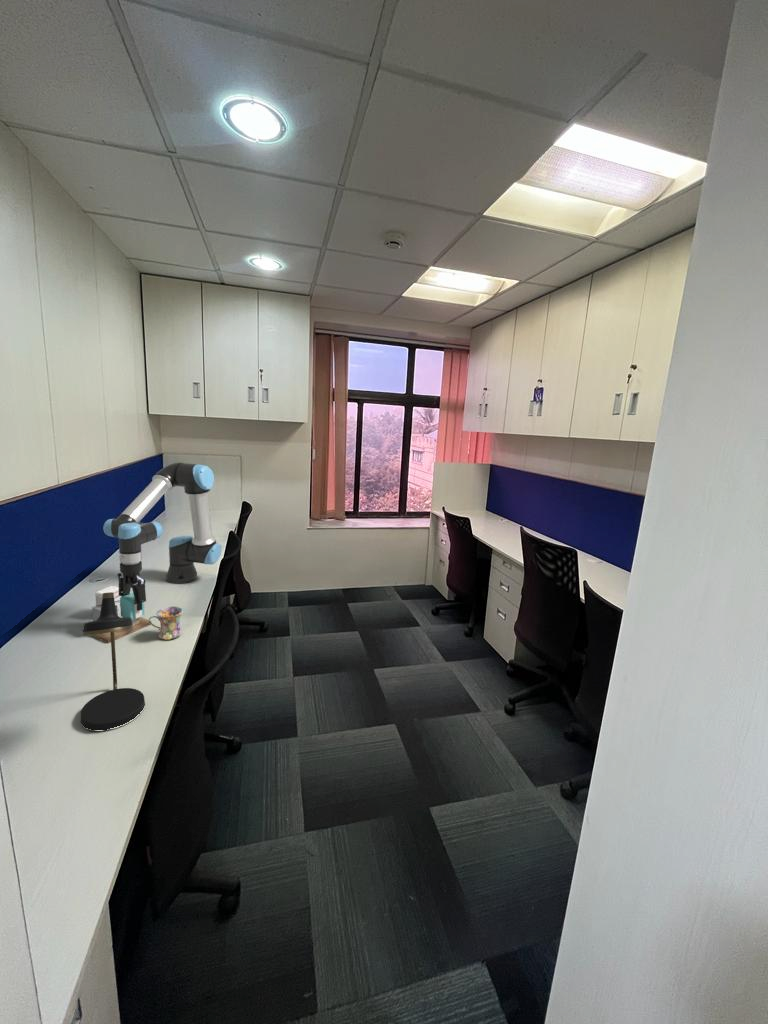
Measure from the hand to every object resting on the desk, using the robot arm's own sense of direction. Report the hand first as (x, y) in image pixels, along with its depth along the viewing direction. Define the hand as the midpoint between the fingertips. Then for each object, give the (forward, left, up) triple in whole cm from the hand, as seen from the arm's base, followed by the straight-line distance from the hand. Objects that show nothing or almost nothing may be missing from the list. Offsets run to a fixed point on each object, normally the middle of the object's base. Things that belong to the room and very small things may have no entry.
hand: (132, 614), depth 169 cm
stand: (+4, -2, -5) cm, 7 cm away
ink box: (-1, -17, -6) cm, 18 cm away
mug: (-2, +17, -6) cm, 18 cm away
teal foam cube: (0, 0, 0) cm, 0 cm away
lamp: (+34, +40, -6) cm, 53 cm away
